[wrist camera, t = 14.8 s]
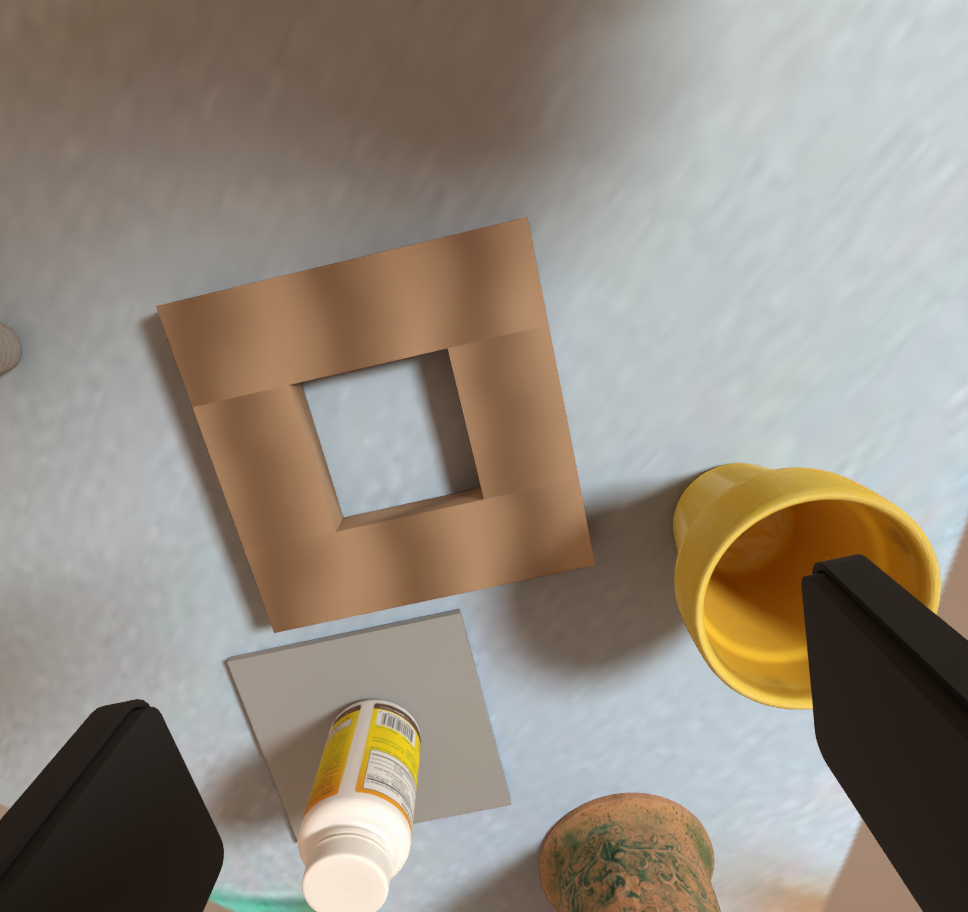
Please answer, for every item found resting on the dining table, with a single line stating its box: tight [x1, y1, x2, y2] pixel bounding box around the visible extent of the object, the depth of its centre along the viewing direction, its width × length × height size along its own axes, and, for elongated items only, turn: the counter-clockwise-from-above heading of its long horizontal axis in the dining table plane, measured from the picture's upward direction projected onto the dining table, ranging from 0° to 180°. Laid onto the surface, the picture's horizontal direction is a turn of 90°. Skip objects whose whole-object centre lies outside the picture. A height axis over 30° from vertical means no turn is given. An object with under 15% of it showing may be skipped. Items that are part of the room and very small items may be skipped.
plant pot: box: [673, 463, 941, 710], centre depth 31 cm, size 10×10×10 cm
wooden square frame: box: [156, 217, 595, 633], centre depth 33 cm, size 18×18×2 cm
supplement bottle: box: [298, 699, 421, 912], centre depth 34 cm, size 6×6×10 cm
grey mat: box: [227, 609, 511, 842], centre depth 39 cm, size 14×14×1 cm
